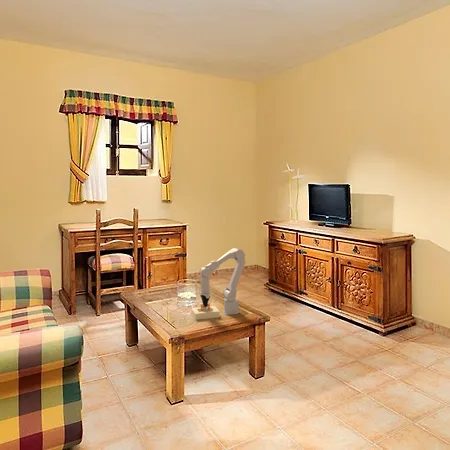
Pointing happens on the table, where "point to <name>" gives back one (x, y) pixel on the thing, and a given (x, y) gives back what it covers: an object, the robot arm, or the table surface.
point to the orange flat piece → (205, 307)
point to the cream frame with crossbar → (205, 313)
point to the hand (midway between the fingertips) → (205, 306)
